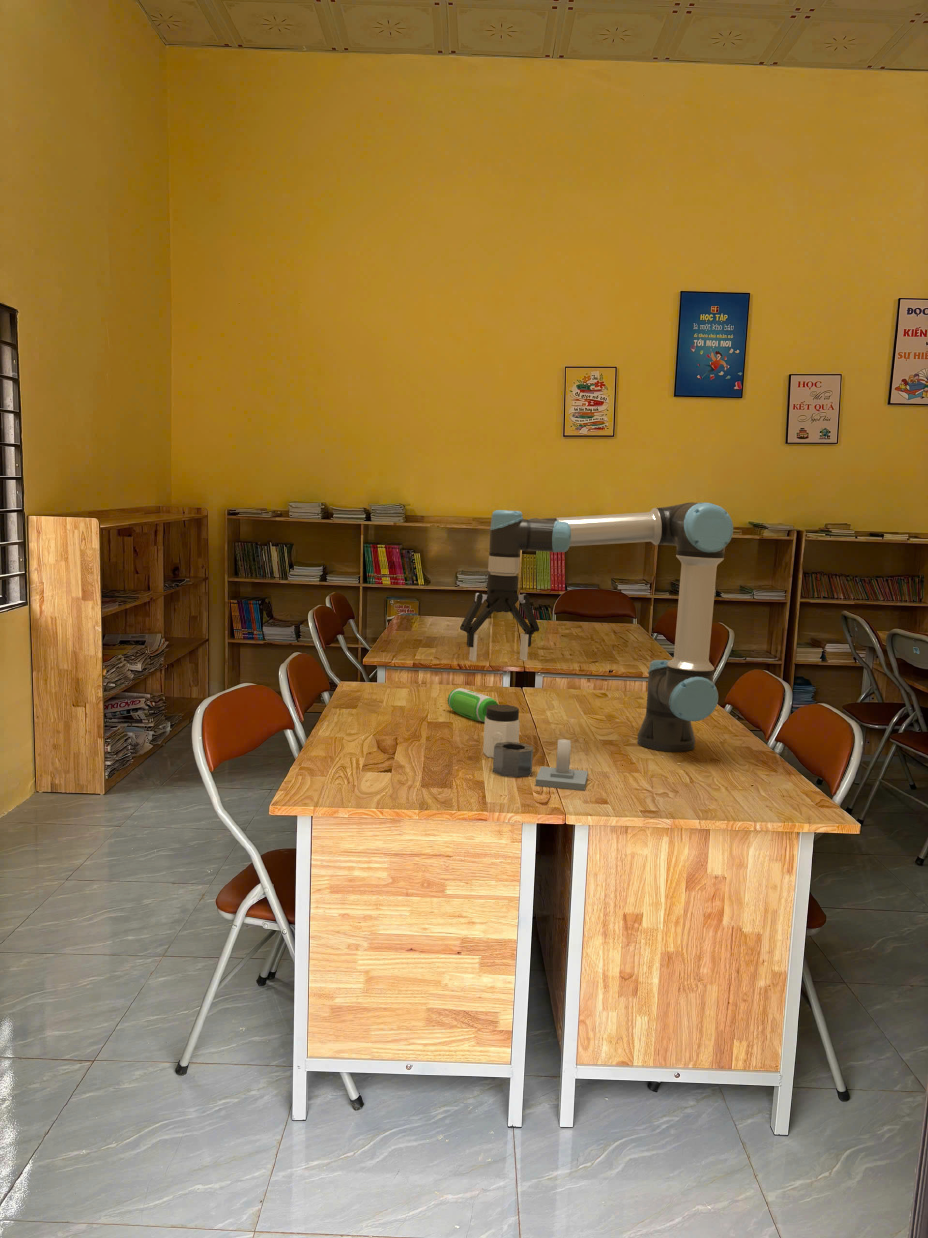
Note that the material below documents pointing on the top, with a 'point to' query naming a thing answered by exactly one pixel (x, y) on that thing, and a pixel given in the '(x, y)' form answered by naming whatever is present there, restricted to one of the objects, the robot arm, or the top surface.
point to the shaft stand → (562, 771)
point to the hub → (513, 759)
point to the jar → (500, 727)
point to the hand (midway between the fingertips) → (498, 660)
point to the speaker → (470, 703)
